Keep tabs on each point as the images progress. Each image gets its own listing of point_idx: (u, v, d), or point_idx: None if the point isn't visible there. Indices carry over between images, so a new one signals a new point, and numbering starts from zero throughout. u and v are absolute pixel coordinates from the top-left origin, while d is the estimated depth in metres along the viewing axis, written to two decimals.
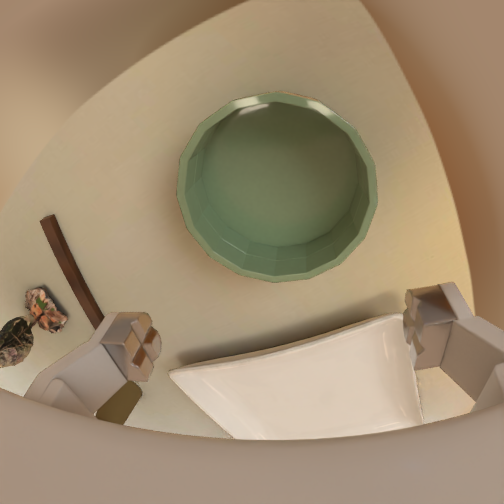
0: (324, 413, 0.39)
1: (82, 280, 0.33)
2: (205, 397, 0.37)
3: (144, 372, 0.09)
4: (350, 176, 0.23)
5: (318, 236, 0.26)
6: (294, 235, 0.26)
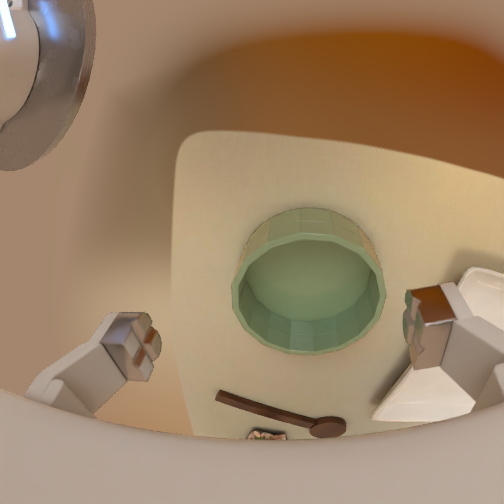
0: None
1: (272, 408, 0.43)
2: (410, 412, 0.38)
3: (144, 372, 0.09)
4: None
5: (368, 278, 0.29)
6: (354, 291, 0.30)
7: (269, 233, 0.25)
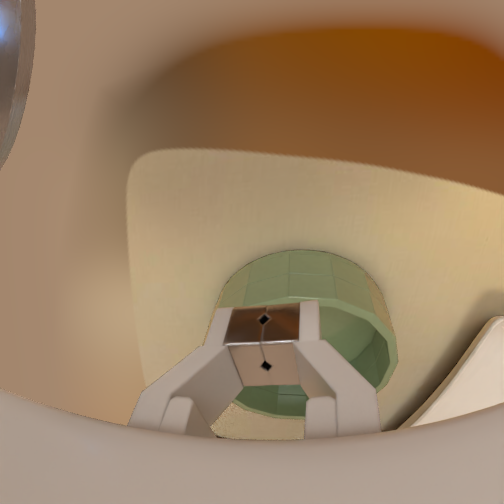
0: None
1: None
2: None
3: None
4: None
5: (374, 330, 0.23)
6: (357, 344, 0.24)
7: (246, 291, 0.18)
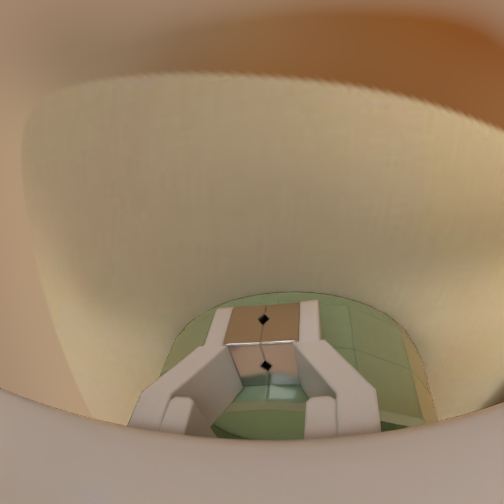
0: None
1: None
2: None
3: None
4: None
5: None
6: None
7: None
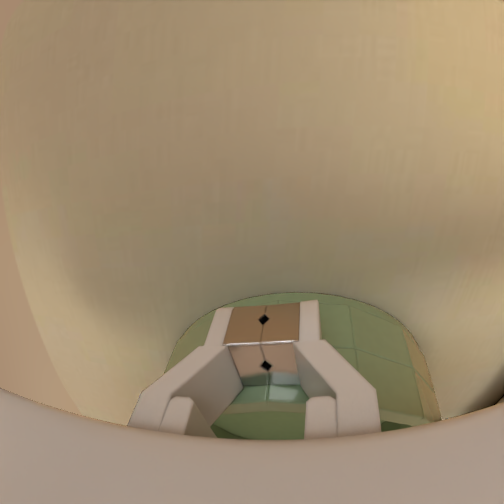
0: None
1: None
2: None
3: None
4: None
5: None
6: None
7: None
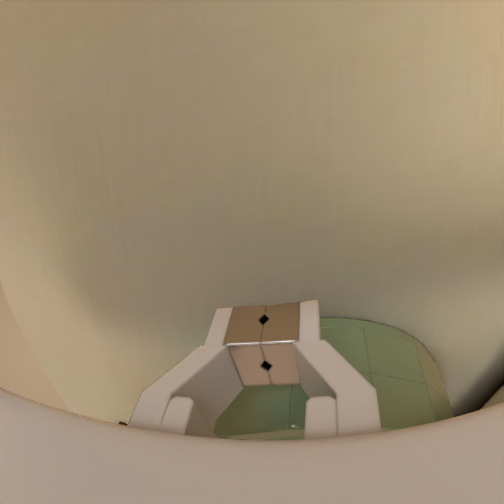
0: None
1: None
2: None
3: None
4: None
5: None
6: None
7: None
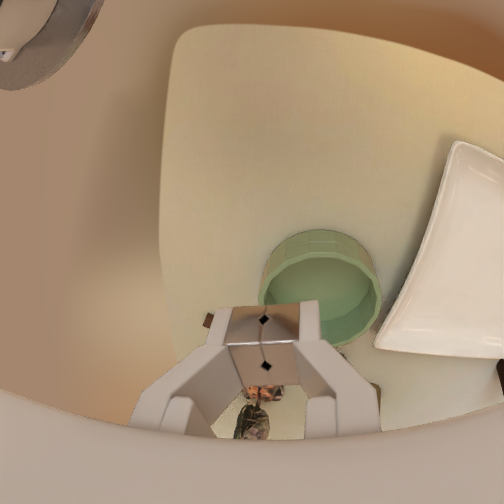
0: None
1: None
2: (417, 342, 0.37)
3: None
4: None
5: (369, 282, 0.35)
6: (358, 294, 0.36)
7: (285, 253, 0.32)
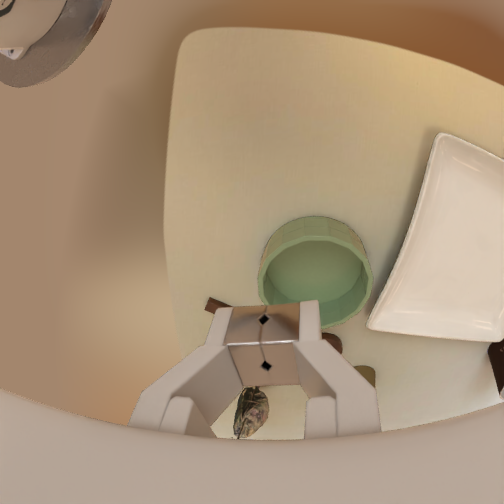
0: (496, 257, 0.34)
1: None
2: (408, 324, 0.40)
3: None
4: None
5: (361, 266, 0.38)
6: (351, 277, 0.39)
7: (283, 237, 0.34)
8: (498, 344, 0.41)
